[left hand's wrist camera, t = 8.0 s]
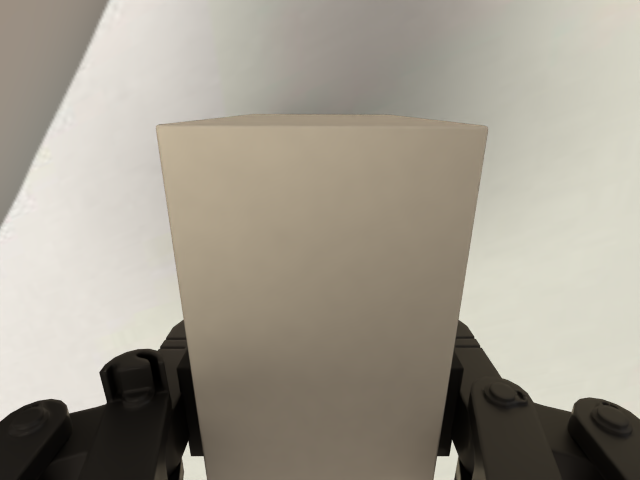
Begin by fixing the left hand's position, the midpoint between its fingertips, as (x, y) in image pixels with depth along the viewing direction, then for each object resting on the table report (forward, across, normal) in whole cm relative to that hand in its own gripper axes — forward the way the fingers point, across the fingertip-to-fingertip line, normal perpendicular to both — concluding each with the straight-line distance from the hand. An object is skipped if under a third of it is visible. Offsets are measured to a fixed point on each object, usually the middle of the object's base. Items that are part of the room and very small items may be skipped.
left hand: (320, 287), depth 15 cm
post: (+1, 0, -30) cm, 30 cm away
